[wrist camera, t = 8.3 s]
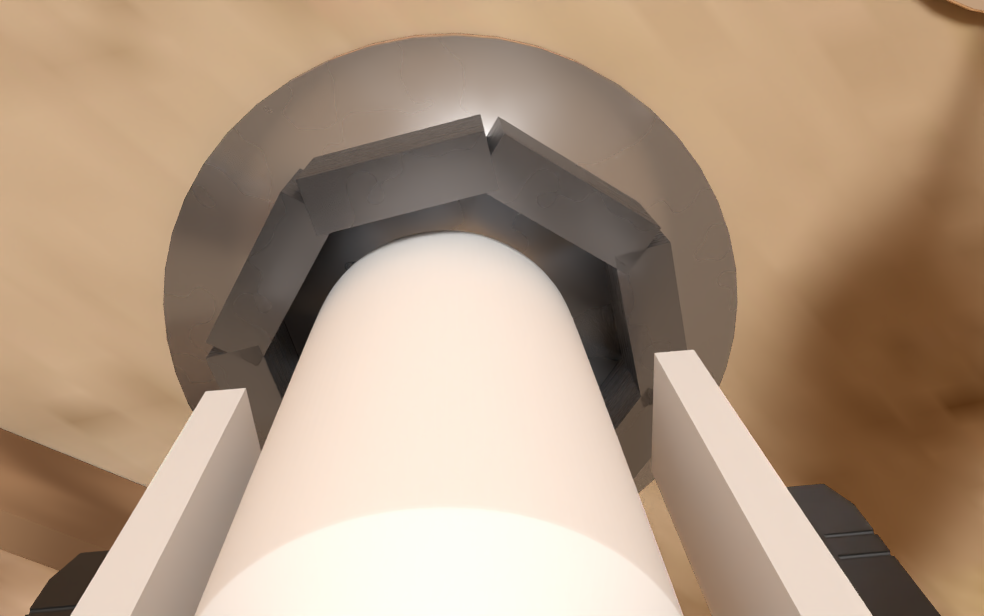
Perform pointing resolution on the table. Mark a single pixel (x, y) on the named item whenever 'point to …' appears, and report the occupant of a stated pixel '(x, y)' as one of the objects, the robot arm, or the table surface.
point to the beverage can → (441, 456)
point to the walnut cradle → (58, 503)
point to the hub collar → (451, 214)
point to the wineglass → (970, 4)
